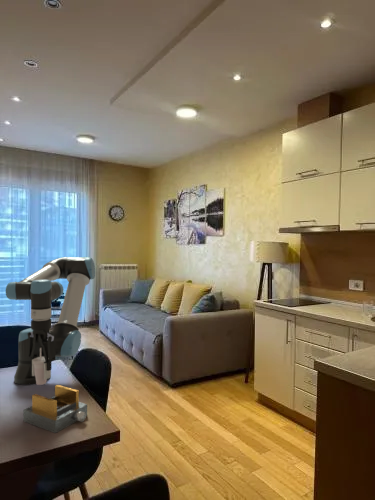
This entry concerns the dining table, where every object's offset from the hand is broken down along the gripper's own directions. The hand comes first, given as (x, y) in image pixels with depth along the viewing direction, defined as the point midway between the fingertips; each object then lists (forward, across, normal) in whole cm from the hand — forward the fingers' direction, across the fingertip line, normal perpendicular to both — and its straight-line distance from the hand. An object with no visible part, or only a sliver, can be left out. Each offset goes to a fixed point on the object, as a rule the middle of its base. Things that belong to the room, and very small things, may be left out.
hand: (41, 376), depth 140 cm
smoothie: (+3, 0, 0) cm, 3 cm away
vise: (+9, +20, -9) cm, 23 cm away
